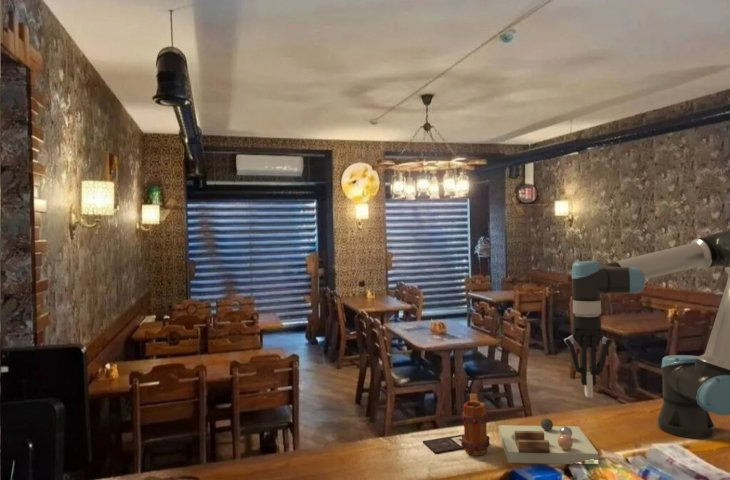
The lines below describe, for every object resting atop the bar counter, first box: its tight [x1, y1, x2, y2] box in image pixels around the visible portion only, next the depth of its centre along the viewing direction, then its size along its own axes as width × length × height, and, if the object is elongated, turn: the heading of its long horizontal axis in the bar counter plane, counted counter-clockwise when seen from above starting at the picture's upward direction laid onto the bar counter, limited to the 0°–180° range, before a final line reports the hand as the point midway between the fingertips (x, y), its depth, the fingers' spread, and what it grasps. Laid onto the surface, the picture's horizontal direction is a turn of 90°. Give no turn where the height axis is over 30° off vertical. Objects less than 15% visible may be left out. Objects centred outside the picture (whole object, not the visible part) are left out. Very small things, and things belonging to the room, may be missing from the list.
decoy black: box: [540, 417, 554, 431], centre depth 156 cm, size 4×4×4 cm
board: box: [498, 424, 600, 465], centre depth 150 cm, size 24×20×3 cm
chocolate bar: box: [422, 433, 465, 455], centre depth 156 cm, size 9×1×18 cm
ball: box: [560, 425, 572, 437], centre depth 149 cm, size 4×4×4 cm
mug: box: [461, 393, 491, 456], centre depth 151 cm, size 15×8×15 cm, turn 168°
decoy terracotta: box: [558, 434, 573, 450], centre depth 142 cm, size 4×4×4 cm
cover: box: [514, 431, 550, 453], centre depth 143 cm, size 8×8×3 cm
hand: (588, 395), depth 148 cm, fingers closed
